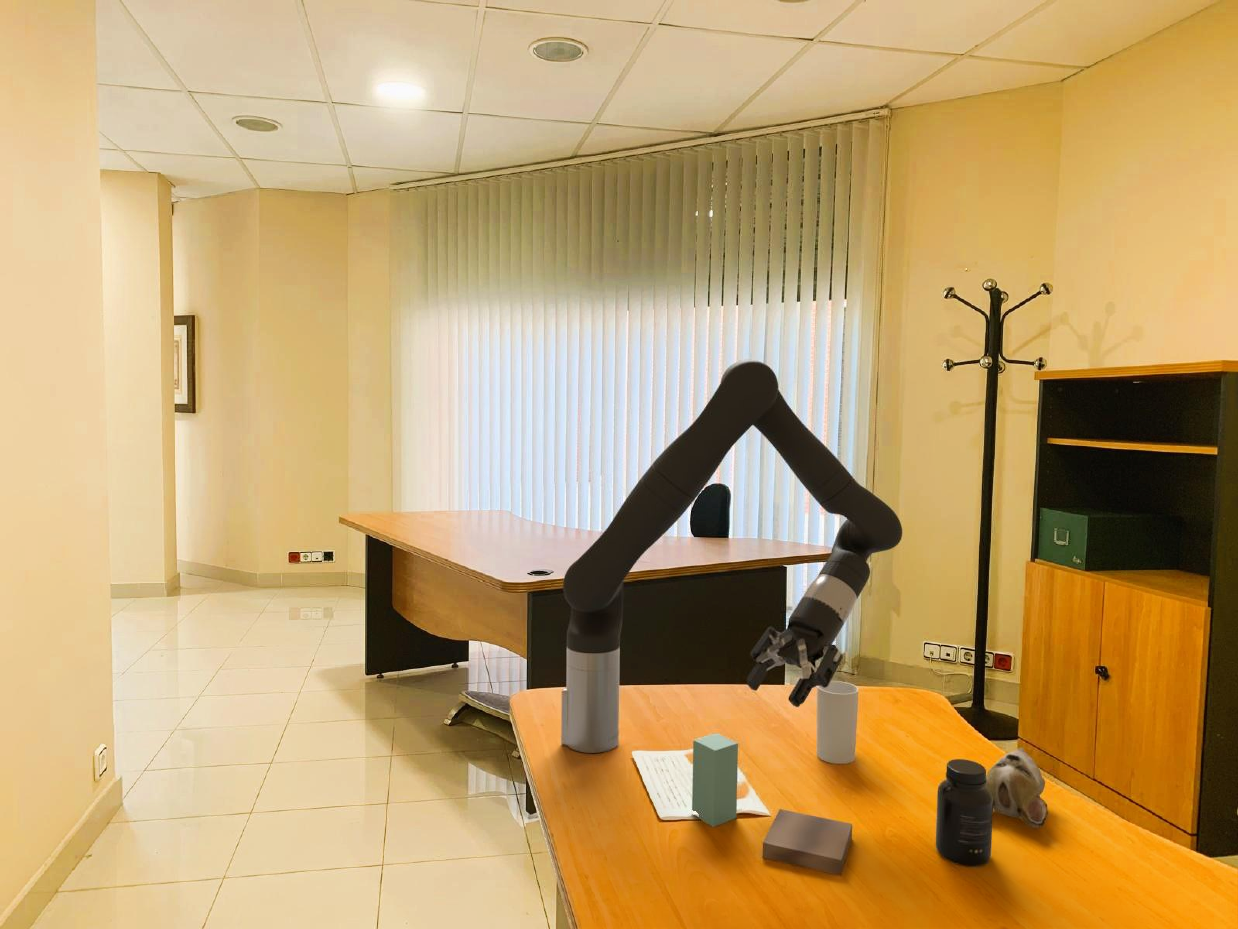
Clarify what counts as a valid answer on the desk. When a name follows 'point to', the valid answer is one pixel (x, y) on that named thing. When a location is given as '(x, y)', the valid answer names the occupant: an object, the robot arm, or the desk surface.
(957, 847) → the supplement bottle
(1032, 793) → the ceramic sculpture
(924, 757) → the desk surface
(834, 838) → the base
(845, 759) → the mug
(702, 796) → the pillar
